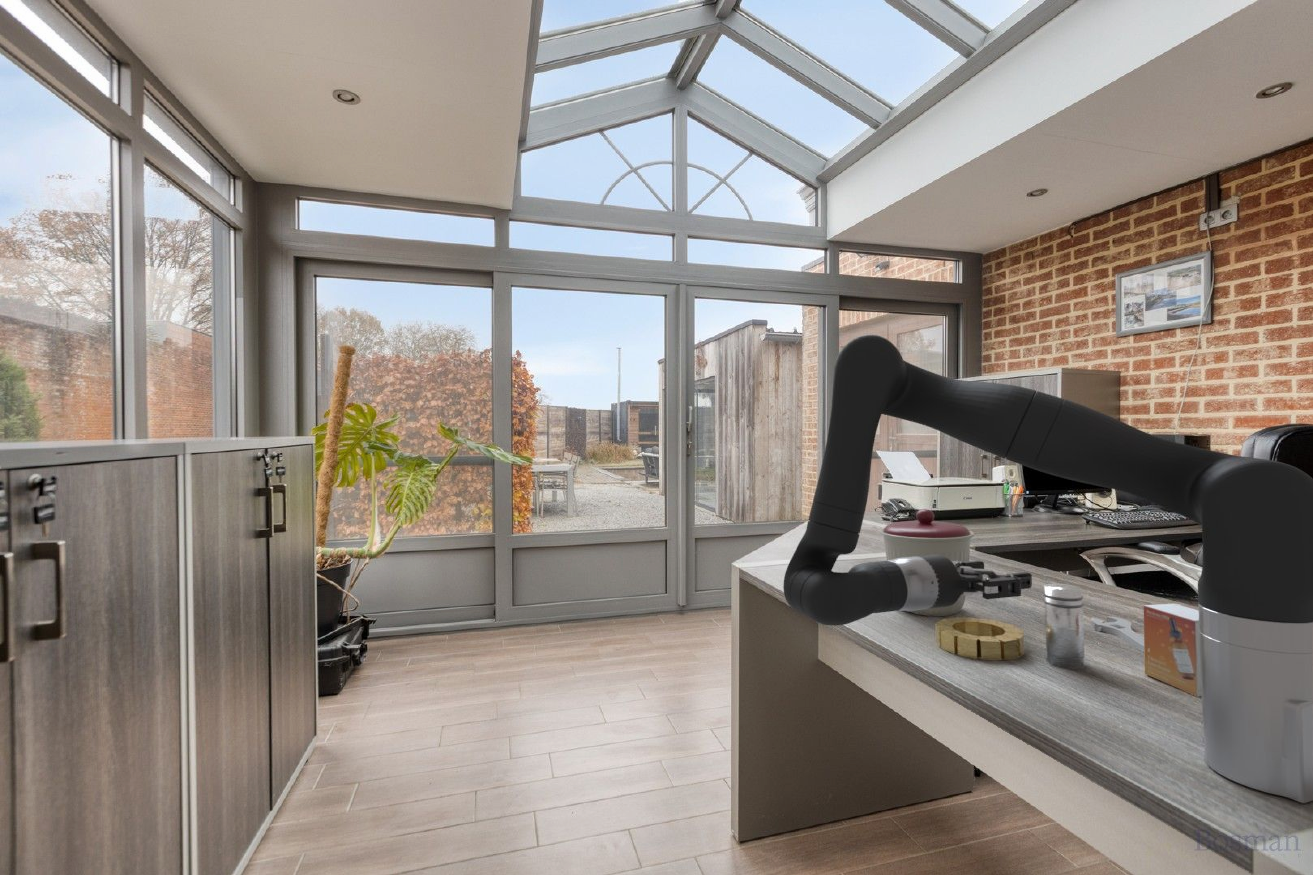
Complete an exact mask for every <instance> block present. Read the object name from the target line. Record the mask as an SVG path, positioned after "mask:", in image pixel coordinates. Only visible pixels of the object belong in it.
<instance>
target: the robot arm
mask: <svg viewBox="0 0 1313 875" xmlns="http://www.w3.org/2000/svg"><path fill="white" fill-rule="evenodd" d="M901 354H902V353H900V351H899V349H898V348H897V347H896V346H895V344H893V343H892V342H891V341H890V340H889V339H887V338H885V337H883V336H880V335H877V334H865V335H860V336H857V337H855V338H853V339H851V340H849V341H848V342H847V343H846V344H844V345H843V347H842V348H841V349H840V351H839V352H838V354H837V356H836V359H835V362H834V367H833V368H834V369H833V381H832V382H833V383H832V395H831V411H830V418H829V424H828V431H827V439H826V443H825V448H824V453H823V459H822V463H821V468H820V472H819V475H818V479H817V482H816V487H815V492H814V496H813V499H812V503H811V508H810V512H809V516H808V521H807V524H806V529H805V532H804V533H803V536H802V537H801V539H800V540H799V542H798V544H797V547H796V549H795V551H794V553H793V555H792V557H791V559H790V560H789V563H788V565H787V566H786V567H787V568H786V571H785V573H784V578H783V596H784V598H785V601H786V602H787V604H788V605H789V606H790V607H791V608H792V609H793V610H794V611H796V612H798V613H800V614H801V615H803V616H805V617H807V618H809V619H810V620H813V621H814V622H816V623H818V624H820V625H824V626H831V627H832V626H844V625H848V624H852V623H854V622H857V621H859V620H862V619H863V618H864V619H865V618H866V617H868V616H869V617H870V615H872V614H881V613H887V612H888V613H890V612H898V611H904V612H908V611H915V610H923V609H931V608H940V607H948V606H951V605H953V604H954V603H956V602H957V600H958V599H959V597H960V596H961V595H962V594H963V595H966V596H973V595H975V594H976V595H982V598H983V599H985V600H992V599H993V600H994V599H995V600H996V599H1004V598H1005V599H1006V598H1016V597H1022V590H1025V589H1031V588H1032V586H1033V579H1032V577H1033V576H1032V573H1030V572H1026V571H1024V572H1014V573H1009V572H1008V573H998V572H995V571H994V570H993V569H989V568H985V563H984V562H983V561H981V560H971V561H970V560H969V562H961V561H951V560H949V559H948V558H947V557H945V556H943V555H938V554H935V555H924V556H913V557H902V558H896V559H892V560H888V561H887V560H880V561H868V562H862V563H859V564H855V565H854V566H852V567H851V568H850V569H849V570H848V572H842V571H841V572H840V571H839V572H838V571H833V568H834V566H835V564H836V562H837V561H838V558H839V557H840V556H841V555H849V554H851V553H854V551H855V550H856V547H857V545H858V542H859V538H860V534H861V530H862V527H863V526H862V525H863V521H864V518H865V513H866V509H867V503H868V498H869V492H870V481H871V469H872V462H873V461H872V460H873V459H872V458H873V453H874V452H873V451H874V446H875V440H876V439H875V438H876V435H877V430H878V426H879V423H880V421H881V420H880V419H881V417H882V415H884V416H889V417H894V418H897V419H899V420H904V421H908V422H912V423H916V424H919V425H922V426H926V427H927V428H931V429H934V430H936V431H939V432H941V433H943V434H945V435H947V436H949V437H952V438H954V439H957V440H958V441H961V442H963V443H965V444H967V445H969V446H972V447H975V448H977V449H979V450H983V451H985V452H986V453H990V454H993V455H994V456H996V457H1000V458H1002V459H1006V460H1007V461H1010V462H1012V463H1016V464H1019V465H1021V466H1024V467H1026V468H1030V469H1032V470H1035V471H1039V472H1041V473H1044V474H1048V475H1052V476H1055V477H1059V478H1062V479H1066V480H1071V481H1075V482H1077V483H1083V484H1087V485H1093V486H1098V487H1102V488H1107V489H1112V490H1116V491H1120V492H1123V493H1126V494H1129V495H1132V496H1135V497H1138V498H1140V499H1143V500H1146V501H1148V502H1150V503H1152V504H1155V505H1157V506H1160V507H1162V508H1164V509H1167V510H1168V511H1171V512H1173V513H1175V514H1178V515H1180V516H1182V517H1185V518H1187V519H1189V520H1191V521H1192V522H1194V523H1198V525H1201V536H1202V539H1201V540H1202V567H1201V575H1200V577H1199V578H1198V581H1197V600H1198V603H1197V604H1198V605H1197V606H1198V610H1199V636H1200V661H1201V687H1202V696H1201V705H1202V706H1201V707H1202V709H1201V710H1202V726H1203V728H1202V729H1203V737H1202V740H1203V742H1202V743H1203V747H1204V761H1205V763H1206V764H1207V766H1208V767H1210V768H1211V769H1212V770H1213V771H1215V772H1216V773H1218V774H1219V775H1221V776H1223V777H1225V778H1226V779H1229V780H1231V781H1233V782H1236V783H1238V784H1240V785H1242V786H1244V787H1245V786H1246V787H1248V788H1250V789H1253V790H1254V789H1255V790H1257V791H1261V792H1264V793H1268V794H1272V795H1277V796H1282V797H1285V798H1288V799H1290V800H1294V801H1296V802H1298V803H1301V804H1306V803H1309V802H1313V477H1311V476H1310V475H1309V474H1308V473H1306V472H1305V471H1303V470H1301V469H1299V468H1298V467H1296V466H1293V465H1291V464H1287V463H1284V462H1281V461H1276V460H1271V459H1264V458H1257V457H1249V456H1243V455H1242V456H1240V455H1234V454H1230V453H1224V452H1219V451H1215V450H1212V449H1211V450H1209V449H1206V448H1201V447H1197V446H1194V445H1189V444H1184V443H1180V442H1176V441H1173V440H1169V439H1166V438H1165V439H1164V438H1162V437H1158V436H1156V435H1154V434H1153V435H1152V434H1150V433H1148V432H1145V431H1143V430H1141V429H1138V428H1136V427H1134V426H1132V425H1129V424H1127V423H1125V422H1123V421H1121V420H1118V419H1117V418H1115V417H1112V416H1110V415H1107V414H1105V413H1103V412H1100V411H1098V410H1095V409H1093V408H1090V407H1088V406H1086V405H1082V404H1080V403H1077V402H1074V401H1071V400H1068V399H1065V398H1063V397H1059V396H1056V395H1051V394H1049V393H1045V392H1042V391H1037V390H1036V389H1032V388H1029V387H1023V386H1019V385H1018V386H1017V385H1014V384H1006V383H997V382H989V381H988V382H986V381H974V380H973V381H972V380H962V379H956V378H955V379H954V378H952V377H949V376H948V377H947V376H943V375H942V374H941V375H940V374H938V373H935V372H932V371H929V370H927V369H924V368H922V367H919V366H917V365H915V364H913V363H910V362H908V361H906V360H904V359H903V356H902V355H901ZM984 575H985V576H987V578H985V579H984Z"/></svg>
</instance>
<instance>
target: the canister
mask: <svg viewBox="0 0 1313 875" xmlns="http://www.w3.org/2000/svg"><path fill="white" fill-rule="evenodd" d="M915 517H916V520H906V521H897V522H891V523H889V524H887V525H886V526H885V527H883V528H881V529H880V530H879V533H880V534H881V535H882V536H883V544H884V551H885V556H886V561H888V560H892V559H896V558H902V557H913V556H924V555H935V554H938V555H943V556H945V557H947V558H948V559H949V560H951V561H961V562H970V552H971V539H972V538H974V536H975V532H974V531H972V530H969V529H968V528H967V527H966V526H964V525H962V524H958V523H953V522H947V521H946V522H945V521H937V520H935V513H934V512H933V511H932V510H930V509H922V508H921V509H919V510H918V511H916V513H915ZM966 596H967V595H963V594H962V595H961V596H960V597H959V599H958V600H957V602H956V603H954V604H953V605H951V606H948V607H940V608H931V609H923V610H915V611H907V612H908V613H912V614H915V615H921V616H928V617H929V616H932V617H941V616H943V617H944V616H949V615H950V616H951V615H954V614H957V613H959V612H960V611H961V610H962V609H963V608H964V605H965V601H966Z"/></svg>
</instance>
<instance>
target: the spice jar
mask: <svg viewBox="0 0 1313 875" xmlns="http://www.w3.org/2000/svg"><path fill="white" fill-rule="evenodd" d="M1083 596H1084V595H1083V588H1082V587H1080V586H1076V585H1074V584H1073V585H1072V584H1067V583H1047V584H1044V585H1043V597H1044V598H1043V603H1044V625H1045V626H1044V627H1045V628H1044V629H1045V651H1046V652H1045V653H1046V655H1045V656H1046V658H1045V659H1046V662H1047V664H1049V665H1051V666H1054V667H1057V668H1061V669H1066V670H1082V669H1084V668H1086V663H1085V662H1086V660H1085V657H1086V656H1085V633H1084V630H1085V629H1084V609H1083V608H1084V602H1083V599H1084V597H1083Z"/></svg>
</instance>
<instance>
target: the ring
mask: <svg viewBox="0 0 1313 875" xmlns="http://www.w3.org/2000/svg"><path fill="white" fill-rule="evenodd" d="M934 627H935V634H934V635H935V643H936V644H937V645H938V647H939V648H941V649H942V650H944V651H947V652H948V653H951V654H953V655H956V654H957V656H960V657H965V658H970V659H974V660H975V659H976V660H978V659H981V660H984V661H1003V660H1004V661H1009V660H1014V659H1019V657H1020V658H1022V656H1023V655H1024V653H1026V651H1025V650H1026V649H1025V648H1026V647H1025V646H1026V645H1025V633H1024V632H1023V631H1022V630H1021V629H1020V628H1019V627H1016V626H1015V625H1012V624H1009V623H1006V622H1003V621H998V620H994V619H988V618H987V619H986V618H982V617H980V618H977V617H965V616H963V617H960V616H959V617H950V618H943V619H940V620H939V621H937V622H936V623H934Z"/></svg>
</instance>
